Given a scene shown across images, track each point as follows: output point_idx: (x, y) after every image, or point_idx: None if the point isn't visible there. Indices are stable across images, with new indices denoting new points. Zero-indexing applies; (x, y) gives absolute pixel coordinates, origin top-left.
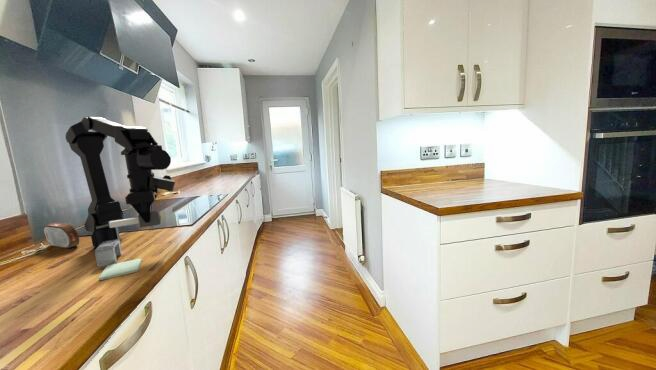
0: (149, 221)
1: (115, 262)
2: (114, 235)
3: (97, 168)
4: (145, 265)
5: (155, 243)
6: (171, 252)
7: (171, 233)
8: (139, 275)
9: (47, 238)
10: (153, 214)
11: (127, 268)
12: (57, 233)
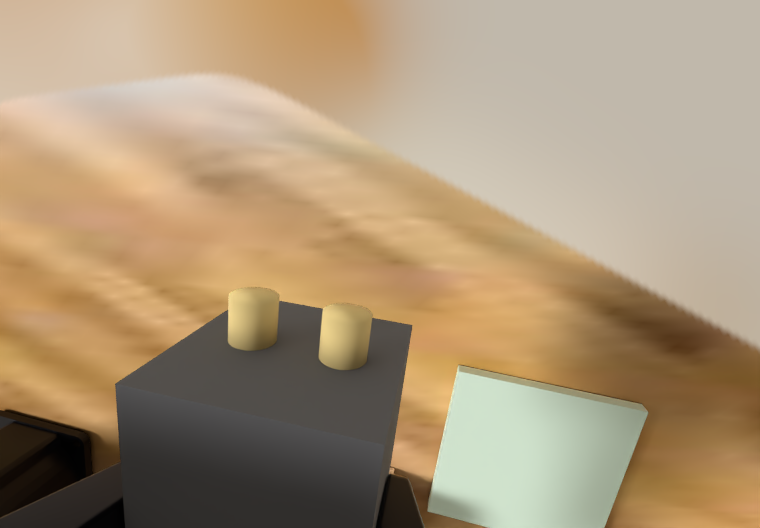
0: (409, 485)
1: (393, 473)
2: (11, 479)
3: None
4: (573, 361)
5: (185, 267)
6: (460, 203)
7: (22, 150)
8: (719, 404)
9: None
10: (374, 511)
11: (575, 448)
12: None
